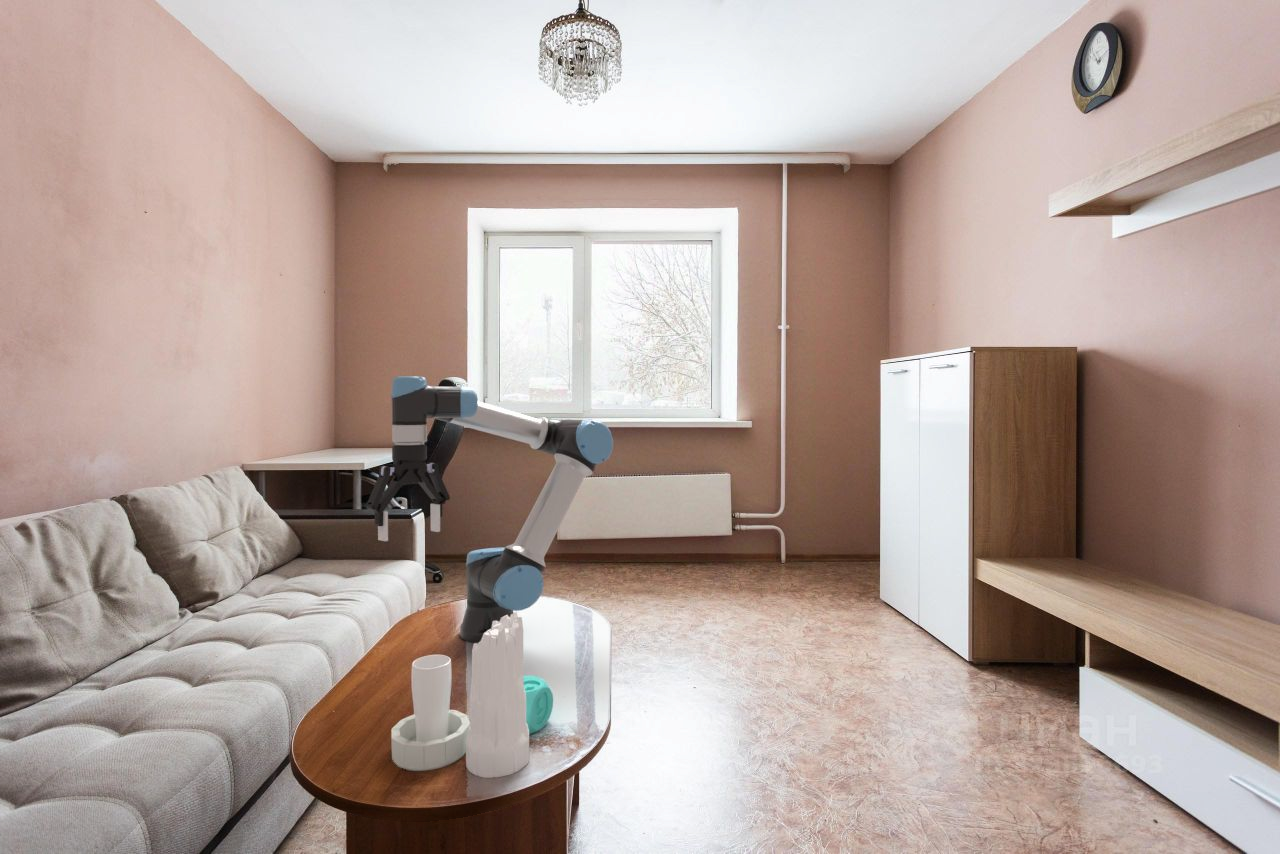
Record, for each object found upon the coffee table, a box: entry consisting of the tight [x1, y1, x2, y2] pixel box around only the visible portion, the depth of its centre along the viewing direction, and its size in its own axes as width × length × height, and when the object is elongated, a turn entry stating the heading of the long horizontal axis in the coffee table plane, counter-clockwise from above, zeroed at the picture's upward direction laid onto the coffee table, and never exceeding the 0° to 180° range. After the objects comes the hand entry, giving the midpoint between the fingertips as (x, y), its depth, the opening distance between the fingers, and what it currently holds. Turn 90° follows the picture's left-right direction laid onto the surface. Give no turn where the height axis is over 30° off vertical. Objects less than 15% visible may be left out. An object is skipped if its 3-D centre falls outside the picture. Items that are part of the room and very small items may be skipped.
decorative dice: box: [523, 675, 554, 735], centre depth 121 cm, size 8×8×8 cm
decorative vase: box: [465, 611, 530, 779], centre depth 109 cm, size 11×11×25 cm
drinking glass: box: [410, 654, 453, 742], centre depth 112 cm, size 7×7×15 cm
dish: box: [390, 709, 470, 772], centre depth 112 cm, size 13×13×4 cm
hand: (410, 535), depth 146 cm, fingers open, 13 cm apart
